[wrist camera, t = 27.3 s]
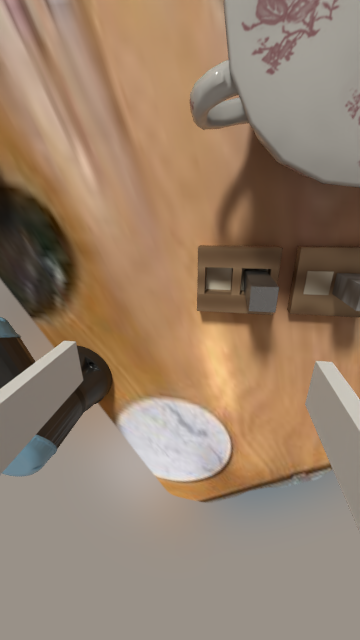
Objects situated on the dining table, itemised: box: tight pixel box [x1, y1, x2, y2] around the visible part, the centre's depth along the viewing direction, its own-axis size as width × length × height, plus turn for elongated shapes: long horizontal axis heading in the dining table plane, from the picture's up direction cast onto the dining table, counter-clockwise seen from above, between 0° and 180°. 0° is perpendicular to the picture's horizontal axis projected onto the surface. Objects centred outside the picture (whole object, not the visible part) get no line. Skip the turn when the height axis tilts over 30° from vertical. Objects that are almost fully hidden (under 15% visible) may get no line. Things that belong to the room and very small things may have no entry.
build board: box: [197, 245, 283, 315], centre depth 42 cm, size 11×13×3 cm
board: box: [287, 246, 360, 317], centre depth 36 cm, size 11×11×10 cm
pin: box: [243, 269, 279, 312], centre depth 37 cm, size 3×3×12 cm
